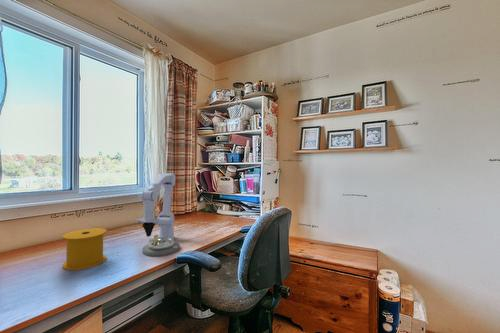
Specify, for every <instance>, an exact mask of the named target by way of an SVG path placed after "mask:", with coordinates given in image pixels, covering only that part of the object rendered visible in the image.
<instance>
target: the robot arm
mask: <svg viewBox="0 0 500 333" xmlns="http://www.w3.org/2000/svg"><path fill="white" fill-rule="evenodd" d="M175 185H176V175H175V173H174V172H172V173H171V172H168V173H167V172H159V174H158V176H157V180H156V181H155V182H152V184H151V185H150V186H149V187H148V188H147V189H146V190H144V191H142V193H141V200H142V204H143V218H136V219H135V223H136V224H138V223H139V224H142V228H143V229H144V231H145V235H146V237H148V238H149V237H151V236H152V232H153V229H154V227H155V225H157V226H158V228H159V237H161V236H164V238H168V237H173V239H175V238H176V237H175V236H174V234H175V233H174V231H175V229H174V226H173V225H174V223H175V214H174V213H173V212H172V211H171V206H172V197H173V196H172V194H173V187H175ZM162 187H163V188H164V191H163V192H164V193H163V201H162V202H163V203H162V211H160V213H158V216H157V218H155V217H156V215H155V214H156V213H155V205H156V200H157V198H158V193H160V191H161V189H162Z"/></svg>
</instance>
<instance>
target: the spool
mask: <svg viewBox="0 0 500 333" xmlns="http://www.w3.org/2000/svg"><path fill="white" fill-rule="evenodd" d="M107 232H108V231H107V229H106V228H101V227H99V228H96V227H95V228H84V229H83V228H82V229H76V230H74V231H70V232H67V233H66V232H65V233H64V234H63V235H62V239H63V240H65V241H66V255H65V256H66V261H65V262H63V263H62V265H61V266H62V269H63V270H65V271H79V270H85V269H90V268H94V267H96V266H97V267H98V266H99V265H101V264H103V263H105V262H106V260H107V255H105V254H104V235H105V234H107Z"/></svg>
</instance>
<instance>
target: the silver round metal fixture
mask: <svg viewBox="0 0 500 333" xmlns="http://www.w3.org/2000/svg"><path fill="white" fill-rule="evenodd" d="M174 242H175V239H174V238H173V237H168V238H164V236H161V237H160V236H159V235H158V234H155V235H154V238H150V239H149V242H148V243H147V244H148V248H149V249H150V250H165V249H169V248H171V247H173V246H174Z"/></svg>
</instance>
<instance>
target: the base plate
mask: <svg viewBox="0 0 500 333" xmlns="http://www.w3.org/2000/svg"><path fill="white" fill-rule="evenodd" d="M178 249H179V250H180V243H179V242H177V241H174V246H173V247H171V248H169V249H165V250H150V249H149V248H148V243H147V244H145V245H144V246H142V253H141V254H143V255H144V256H147V257H155V258H156V257H163V256H164V255H165V256H169V255H172V253H173V254H174V252H175V253H176V251H177V250H178ZM179 250H178V251H179ZM178 251H177V252H178ZM168 254H169V255H168ZM165 256H164V257H165Z"/></svg>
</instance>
